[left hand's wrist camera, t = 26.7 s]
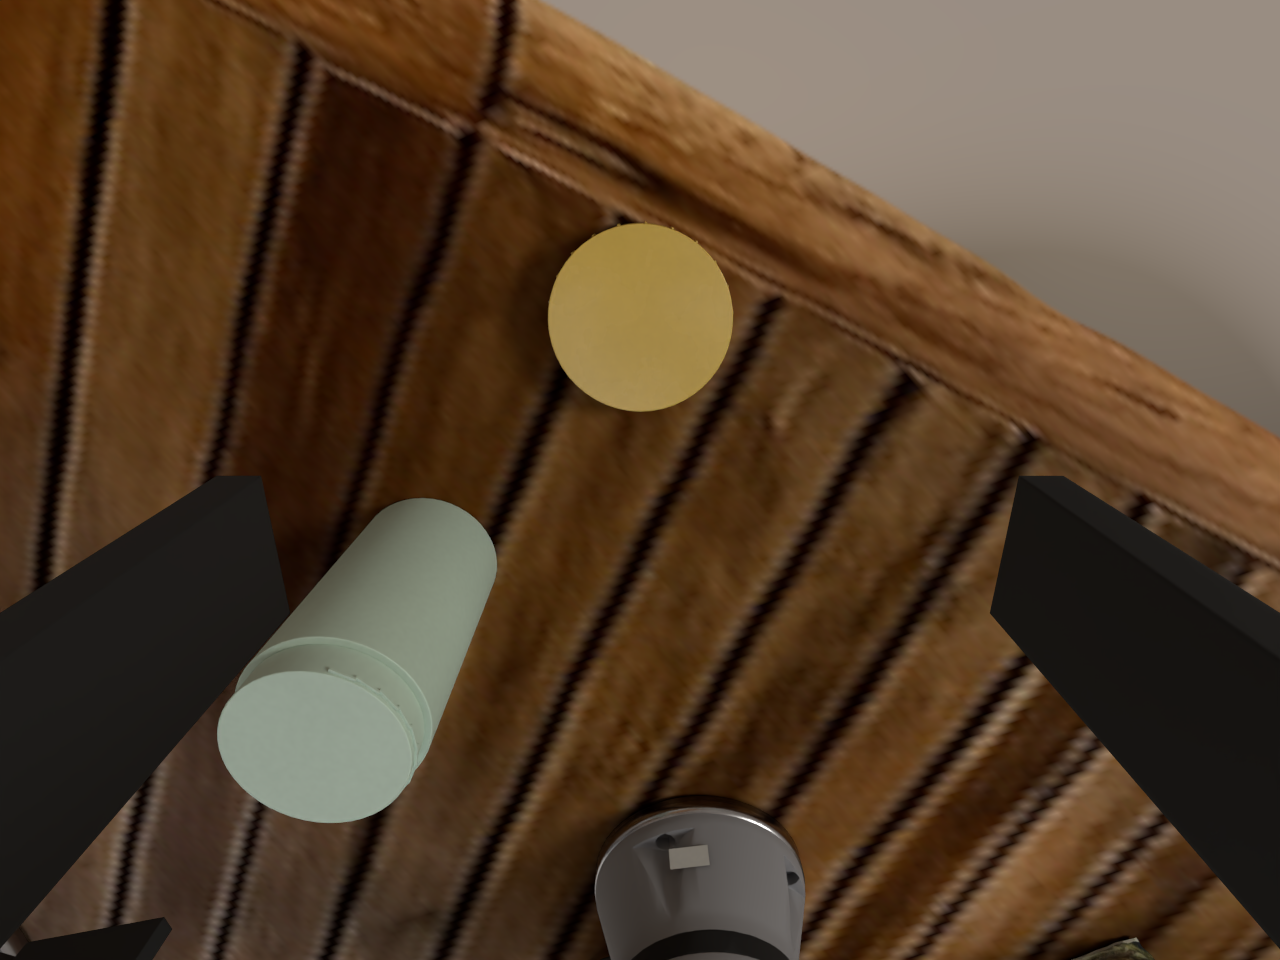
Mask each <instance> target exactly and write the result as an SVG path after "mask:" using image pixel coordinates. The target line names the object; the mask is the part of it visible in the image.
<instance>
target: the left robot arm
mask: <svg viewBox="0 0 1280 960" xmlns="http://www.w3.org/2000/svg"><path fill="white" fill-rule="evenodd" d="M289 614H290V610H289V606H288V601H287V596H286V592H285V587H284V582H283V577H282V573H281V568H280V563H279V559H278V554H277V549H276V545H275V540H274V535H273V530H272V526H271V521H270V516H269V512H268V507H267V502H266V498H265V493H264V488H263V483H262V479H261V476H216V477H214V478H213V479H211V480H209V481H208V482H206V483H205V484H203V485H202V486H200V487H198V488H197V489H195V490H194V491H192V492H191V493H189V494H187V495H186V496H184V497H183V498H181V499H179V500H178V501H176V502H175V503H173V504H172V505H170V506H168V507H167V508H165V509H164V510H162V511H160V512H159V513H157V514H156V515H154V516H153V517H151V518H149V519H148V520H146V521H145V522H143V523H142V524H140V525H138V526H137V527H135V528H134V529H132V530H130V531H129V532H127V533H126V534H124V535H123V536H121V537H119V538H118V539H116V540H115V541H113V542H112V543H110V544H108V545H107V546H105V547H104V548H102V549H100V550H99V551H97V552H96V553H94V554H93V555H91V556H89V557H88V558H86V559H85V560H83V561H81V562H80V563H78V564H77V565H75V566H74V567H72V568H70V569H69V570H67V571H66V572H64V573H63V574H61V575H59V576H58V577H56V578H55V579H53V580H51V581H50V582H48V583H47V584H45V585H44V586H42V587H40V588H39V589H37V590H36V591H34V592H33V593H31V594H29V595H28V596H26V597H25V598H23V599H21V600H20V601H18V602H17V603H15V604H14V605H12V606H10V607H9V608H7V609H6V610H4V611H2V612H1V613H0V948H1V947H2V946H3V945H4V944H5V943H6V942H7V940H8V939H9V938H10V937H11V936H12V935H13V933H14V932H15V931H16V930H17V929H18V928H19V926H20V925H21V924H22V923H23V922H24V921H25V920H26V918H27V917H28V916H29V915H30V914H31V913H32V911H33V910H34V909H35V908H36V907H37V906H38V904H39V903H40V902H41V901H42V900H43V899H44V898H45V896H46V895H47V894H48V893H49V892H50V891H51V889H52V888H53V887H54V886H55V885H56V884H57V882H58V881H59V880H60V879H61V878H62V877H63V876H64V874H65V873H66V872H67V871H68V870H69V869H70V867H71V866H72V865H73V864H74V863H75V862H76V860H77V859H78V858H79V857H80V856H81V855H82V854H83V852H84V851H85V850H86V849H87V848H88V847H89V845H90V844H91V843H92V842H93V841H94V840H95V838H96V837H97V836H98V835H99V834H100V833H101V832H102V830H103V829H104V828H105V827H106V826H107V825H108V823H109V822H110V821H111V820H112V819H113V818H114V816H115V815H116V814H117V813H118V812H119V811H120V810H121V808H122V807H123V806H124V805H125V804H126V803H127V801H128V800H129V799H130V798H131V797H132V796H133V794H134V793H135V792H136V791H137V790H138V789H139V788H140V786H141V785H142V784H143V783H144V782H145V781H146V779H147V778H148V777H149V776H150V775H151V774H152V772H153V771H154V770H155V769H156V768H157V767H158V766H159V764H160V763H161V762H162V761H163V760H164V759H165V757H166V756H167V755H168V754H169V753H170V752H171V750H172V749H173V748H174V747H175V746H176V745H177V744H178V742H179V741H180V740H181V739H182V738H183V737H184V735H185V734H186V733H187V732H188V731H189V730H190V728H191V727H192V726H193V725H194V724H195V723H196V722H197V720H198V719H199V718H200V717H201V716H202V715H203V713H204V712H205V711H206V710H207V709H208V708H209V706H210V705H211V704H212V703H213V702H214V701H215V700H216V698H217V697H218V696H219V695H220V694H221V693H222V691H223V690H224V689H225V688H226V687H227V686H228V684H229V683H230V682H231V681H232V680H233V679H234V678H235V676H236V675H237V674H238V673H239V672H240V671H241V669H242V668H243V667H244V666H245V665H246V664H247V662H248V661H249V660H250V659H251V658H252V657H253V656H254V654H255V653H256V652H257V651H258V650H259V649H260V647H261V646H262V645H263V644H264V643H265V642H266V640H267V639H268V638H269V637H270V636H271V635H272V634H273V632H274V631H275V630H276V629H277V628H278V627H279V625H280V624H281V623H282V622H283V621H284V620H285V618H286V617H287V616H288V615H289ZM990 614H991V615H992V616H993V617H994V618H995V620H996V621H997V622H998V623H999V624H1000V625H1001V627H1002V628H1003V629H1004V630H1005V631H1006V632H1007V634H1008V635H1009V636H1010V637H1011V638H1012V639H1013V640H1014V642H1015V643H1016V644H1017V645H1018V646H1019V647H1020V649H1021V650H1022V651H1023V652H1024V653H1025V654H1026V656H1027V657H1028V658H1029V659H1030V660H1031V661H1032V662H1033V664H1034V665H1035V666H1036V667H1037V668H1038V669H1039V671H1040V672H1041V673H1042V674H1043V675H1044V676H1045V678H1046V679H1047V680H1048V681H1049V682H1050V683H1051V684H1052V686H1053V687H1054V688H1055V689H1056V690H1057V691H1058V693H1059V694H1060V695H1061V696H1062V697H1063V698H1064V700H1065V701H1066V702H1067V703H1068V704H1069V705H1070V706H1071V708H1072V709H1073V710H1074V711H1075V712H1076V713H1077V715H1078V716H1079V717H1080V718H1081V719H1082V720H1083V722H1084V723H1085V724H1086V725H1087V726H1088V727H1089V728H1090V730H1091V731H1092V732H1093V733H1094V734H1095V735H1096V737H1097V738H1098V739H1099V740H1100V741H1101V742H1102V744H1103V745H1104V746H1105V747H1106V748H1107V749H1108V750H1109V752H1110V753H1111V754H1112V755H1113V756H1114V757H1115V759H1116V760H1117V761H1118V762H1119V763H1120V764H1121V766H1122V767H1123V768H1124V769H1125V770H1126V771H1127V772H1128V774H1129V775H1130V776H1131V777H1132V778H1133V779H1134V781H1135V782H1136V783H1137V784H1138V785H1139V786H1140V788H1141V789H1142V790H1143V791H1144V792H1145V793H1146V794H1147V796H1148V797H1149V798H1150V799H1151V800H1152V801H1153V803H1154V804H1155V805H1156V806H1157V807H1158V808H1159V810H1160V811H1161V812H1162V813H1163V814H1164V815H1165V816H1166V818H1167V819H1168V820H1169V821H1170V822H1171V823H1172V825H1173V826H1174V827H1175V828H1176V829H1177V830H1178V832H1179V833H1180V834H1181V835H1182V836H1183V837H1184V838H1185V840H1186V841H1187V842H1188V843H1189V844H1190V845H1191V847H1192V848H1193V849H1194V850H1195V851H1196V852H1197V854H1198V855H1199V856H1200V857H1201V858H1202V859H1203V860H1204V862H1205V863H1206V864H1207V865H1208V866H1209V867H1210V869H1211V870H1212V871H1213V872H1214V873H1215V874H1216V876H1217V877H1218V878H1219V879H1220V880H1221V881H1222V882H1223V884H1224V885H1225V886H1226V887H1227V888H1228V889H1229V891H1230V892H1231V893H1232V894H1233V895H1234V896H1235V898H1236V899H1237V900H1238V901H1239V902H1240V903H1241V904H1242V906H1243V907H1244V908H1245V909H1246V910H1247V911H1248V913H1249V914H1250V915H1251V916H1252V917H1253V918H1254V920H1255V921H1256V922H1257V923H1258V924H1259V925H1260V926H1261V928H1262V929H1263V930H1264V931H1265V932H1266V933H1267V935H1268V936H1269V937H1270V938H1271V939H1272V940H1273V942H1274V943H1275V944H1276V945H1277V946H1278V947H1279V948H1280V613H1279V612H1278V611H1276V610H1274V609H1273V608H1271V607H1270V606H1268V605H1266V604H1265V603H1263V602H1262V601H1260V600H1259V599H1257V598H1255V597H1254V596H1252V595H1251V594H1249V593H1247V592H1246V591H1244V590H1243V589H1241V588H1240V587H1238V586H1236V585H1235V584H1233V583H1232V582H1230V581H1229V580H1227V579H1225V578H1224V577H1222V576H1221V575H1219V574H1217V573H1216V572H1214V571H1213V570H1211V569H1210V568H1208V567H1206V566H1205V565H1203V564H1202V563H1200V562H1199V561H1197V560H1195V559H1194V558H1192V557H1191V556H1189V555H1187V554H1186V553H1184V552H1183V551H1181V550H1180V549H1178V548H1176V547H1175V546H1173V545H1172V544H1170V543H1168V542H1167V541H1165V540H1164V539H1162V538H1161V537H1159V536H1157V535H1156V534H1154V533H1153V532H1151V531H1150V530H1148V529H1146V528H1145V527H1143V526H1142V525H1140V524H1138V523H1137V522H1135V521H1134V520H1132V519H1131V518H1129V517H1127V516H1126V515H1124V514H1123V513H1121V512H1120V511H1118V510H1116V509H1115V508H1113V507H1112V506H1110V505H1108V504H1107V503H1105V502H1104V501H1102V500H1101V499H1099V498H1097V497H1096V496H1094V495H1093V494H1091V493H1089V492H1088V491H1086V490H1085V489H1083V488H1082V487H1080V486H1078V485H1077V484H1075V483H1074V482H1072V481H1071V480H1069V479H1067V478H1066V477H1064V476H1019V479H1018V483H1017V488H1016V493H1015V498H1014V502H1013V507H1012V512H1011V516H1010V521H1009V526H1008V530H1007V535H1006V540H1005V545H1004V549H1003V554H1002V559H1001V563H1000V568H999V573H998V577H997V582H996V587H995V592H994V596H993V601H992V606H991V610H990ZM595 898H596V905H597V911H598V915H599V918H600V922H601V925H602V929H603V933H604V936H605V940H606V943H607V947H608V951H609V954H610V956H609V957H606V958H603V959H601V960H799V952H800V942H801V933H802V923H803V913H804V904H805V879H804V873H803V869H802V865H801V861H800V857H799V853H798V850H797V847H796V845H795V843H794V841H793V839H792V837H791V836H790V835H789V833H788V832H787V831H786V829H785V828H784V827H783V826H782V825H781V824H780V823H779V822H777V821H776V820H775V819H774V818H772V817H771V816H770V815H768V814H767V813H765V812H763V811H761V810H760V809H758V808H756V807H753V806H751V805H749V804H746V803H743V802H740V801H736V800H732V799H727V798H722V797H713V796H689V797H681V798H675V799H670V800H666V801H663V802H659V803H656V804H654V805H651V806H649V807H646V808H644V809H642V810H640V811H638V812H637V813H635V814H633V815H631V816H630V817H629V818H627V819H626V820H624V821H623V822H622V823H621V824H620V825H619V826H617V828H616V829H615V830H614V831H613V832H612V833H611V834H610V835H609V837H608V838H607V839H606V841H605V843H604V845H603V846H602V849H601V851H600V853H599V856H598V860H597V866H596V878H595Z"/></svg>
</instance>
